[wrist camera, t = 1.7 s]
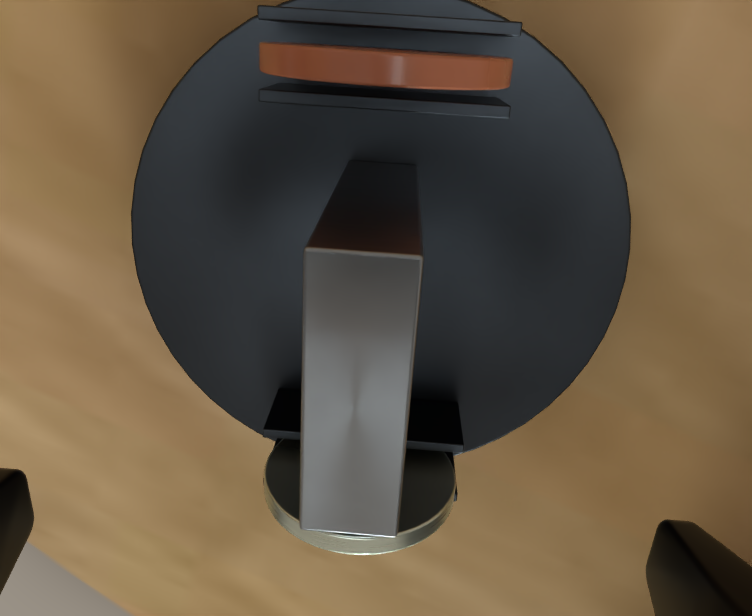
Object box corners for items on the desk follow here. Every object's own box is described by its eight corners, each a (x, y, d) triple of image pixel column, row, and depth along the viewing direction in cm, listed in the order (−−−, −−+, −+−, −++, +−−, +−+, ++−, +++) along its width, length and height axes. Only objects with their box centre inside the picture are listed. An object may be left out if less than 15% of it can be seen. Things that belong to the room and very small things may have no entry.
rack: (677, 5, 17) (941, -30, 8) (573, 468, 23) (668, 716, 14) (117, -31, 17) (-160, -98, 9) (159, 435, 23) (17, 659, 15)
